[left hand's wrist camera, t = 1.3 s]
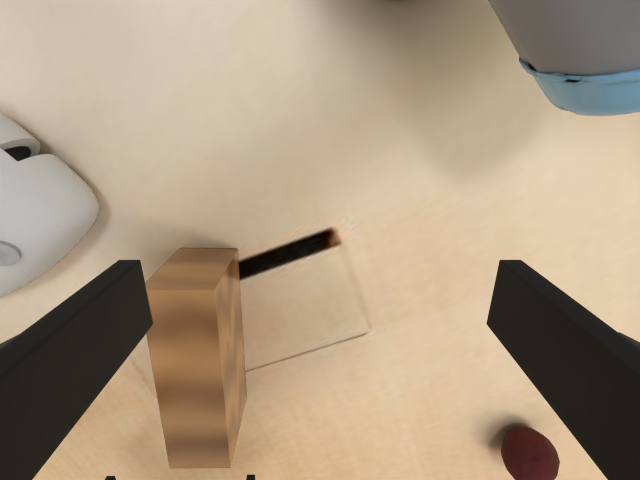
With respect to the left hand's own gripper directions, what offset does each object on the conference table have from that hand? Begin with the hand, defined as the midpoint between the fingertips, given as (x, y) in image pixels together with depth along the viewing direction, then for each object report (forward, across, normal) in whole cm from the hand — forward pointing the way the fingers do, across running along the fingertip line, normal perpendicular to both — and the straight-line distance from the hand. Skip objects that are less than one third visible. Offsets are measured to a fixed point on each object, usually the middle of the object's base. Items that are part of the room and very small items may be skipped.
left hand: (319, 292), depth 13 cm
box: (+27, -14, -21) cm, 37 cm away
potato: (+28, +30, -41) cm, 58 cm away
